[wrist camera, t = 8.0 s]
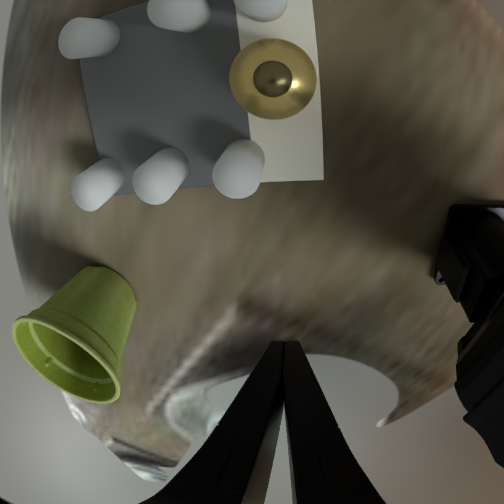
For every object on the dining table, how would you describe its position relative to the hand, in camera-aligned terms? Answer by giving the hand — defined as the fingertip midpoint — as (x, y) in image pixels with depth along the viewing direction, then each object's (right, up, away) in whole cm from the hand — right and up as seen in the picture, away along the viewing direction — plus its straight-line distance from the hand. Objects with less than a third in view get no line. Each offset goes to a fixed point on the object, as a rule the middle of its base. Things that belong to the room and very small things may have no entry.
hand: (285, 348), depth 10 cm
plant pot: (-14, 0, +17) cm, 22 cm away
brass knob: (0, +12, +6) cm, 13 cm away
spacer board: (-4, +12, +7) cm, 15 cm away
